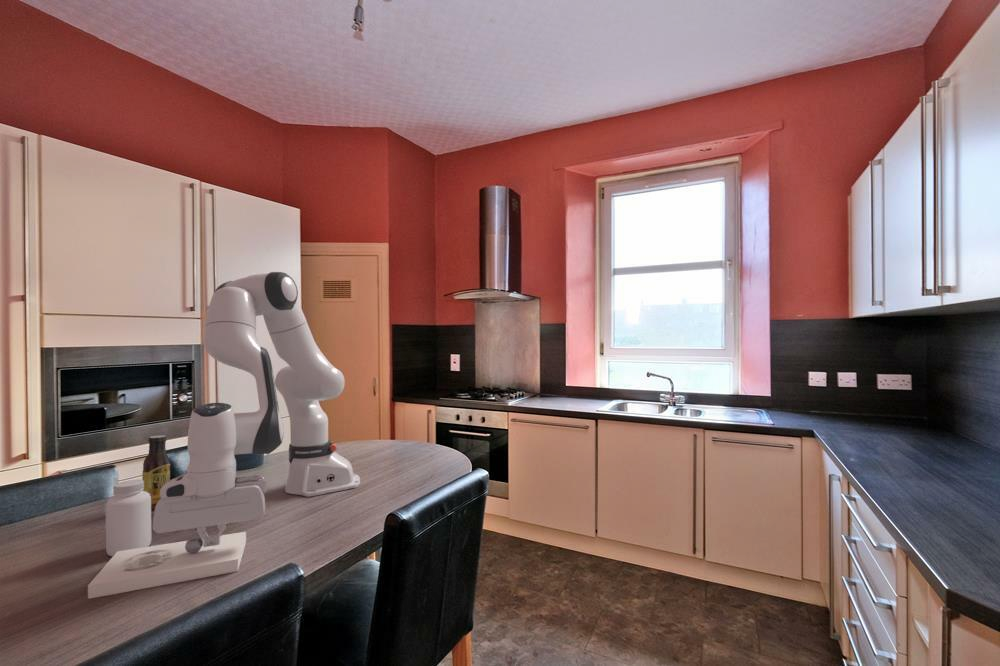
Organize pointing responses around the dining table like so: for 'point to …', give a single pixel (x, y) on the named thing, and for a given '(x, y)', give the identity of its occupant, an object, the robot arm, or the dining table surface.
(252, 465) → the canister
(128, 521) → the pill bottle
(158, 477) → the sauce bottle
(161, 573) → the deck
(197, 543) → the ball
